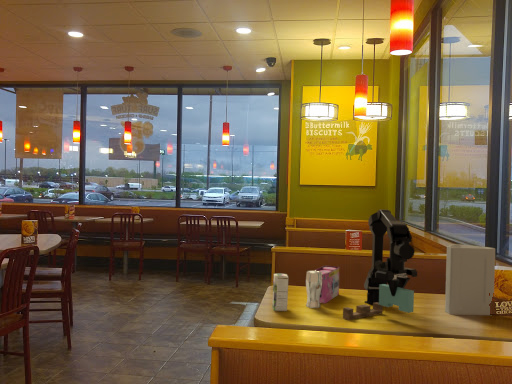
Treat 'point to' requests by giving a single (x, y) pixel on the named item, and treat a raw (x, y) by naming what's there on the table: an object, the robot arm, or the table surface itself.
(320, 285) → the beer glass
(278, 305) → the syrup box
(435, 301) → the table surface
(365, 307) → the walnut rail
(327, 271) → the gum box
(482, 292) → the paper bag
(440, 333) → the table surface
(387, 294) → the teal plate
